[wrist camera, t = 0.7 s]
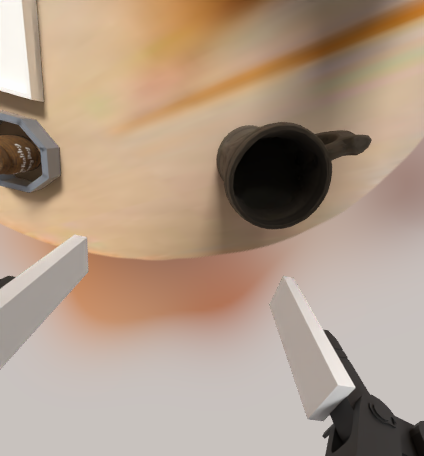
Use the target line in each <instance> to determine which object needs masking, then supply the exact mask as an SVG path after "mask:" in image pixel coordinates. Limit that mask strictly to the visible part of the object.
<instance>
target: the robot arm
mask: <svg viewBox="0 0 424 456" xmlns="http://www.w3.org/2000/svg"><path fill="white" fill-rule="evenodd" d="M87 273H88V249H87V237H84V236H79V235H73V236H72V237H71V238H69V239H68V240H66V241H65V242H64V243H62V244H61V245H60V246H58V247H57V248H55V249H54V250H53V251H51V252H50V253H49V254H47V255H46V256H44V257H43V258H42V259H41V260H39V261H38V262H36V263H35V264H34V265H32V266H31V267H29V268H28V269H27V270H26V271H24V272H23V273H21V274H20V275H19V276H17V277H13V276H7V277H5V278H3V279H0V369H1V368H2V367H3V366H4V365H5V364H6V362H7V361H8V360H9V359H10V358H11V357H12V356H13V355H14V354H15V353H16V352H17V350H18V349H19V348H20V347H21V346H22V345H23V344H24V343H25V341H26V340H27V339H28V338H29V337H30V336H31V335H32V334H33V333H34V332H35V330H36V329H37V328H38V327H39V326H40V325H41V324H42V323H43V322H44V320H45V319H46V318H47V317H48V316H49V315H50V314H51V313H52V312H53V310H54V309H55V308H56V307H57V306H58V305H59V304H60V303H61V302H62V300H63V299H64V298H65V297H66V296H67V295H68V294H69V293H70V292H71V290H72V289H73V288H74V287H75V286H76V285H77V284H78V283H79V282H80V280H81V279H82V278H83V277H84V276H85V275H86V274H87ZM269 305H270V308H271V311H272V314H273V317H274V320H275V323H276V326H277V329H278V332H279V335H280V338H281V341H282V344H283V347H284V350H285V353H286V356H287V359H288V362H289V365H290V368H291V371H292V374H293V377H294V380H295V383H296V386H297V389H298V392H299V395H300V398H301V401H302V404H303V407H304V410H305V413H306V416H307V418H308V419H310V420H318V421H324V420H325V419H326V418H327V417H328V416H329V415H330V416H331V418H332V420H333V425H331V427H329V428H328V429H327V430H326V431H325V432H324V434H323V437H324V438H326V437H327V436H328V435H329V439H328V444H327V450H326V455H325V456H424V421H420V422H419V423H417V424H416V425H415V426H414V425H412V424H410V423H408V422H406V421H404V420H402V419H400V418H398V417H396V416H394V415H393V413H392V412H391V410H390V409H389V408H388V407H387V406H386V405H385V404H384V403H383V402H382V401H381V400H380V399H378V398H376V397H375V396H373V395H370V394H369V392H368V391H367V389H366V387H365V386H364V384H363V382H362V381H361V379H360V377H359V376H358V374H357V372H356V371H355V369H354V368H353V366H352V364H351V363H350V361H349V360H348V359H347V356H346V354H345V353H344V352H343V351H342V350H343V349H342V348H341V346H340V344H339V343H338V341H337V340H336V338H335V337H334V336H333V335H332V334H331V333H330V332H329V331H328V330H323V329H322V327H321V326H320V324H319V322H318V320H317V319H316V317H315V315H314V313H313V312H312V310H311V308H310V306H309V305H308V303H307V301H306V299H305V297H304V296H303V294H302V292H301V290H300V289H299V287H298V285H297V283H296V281H295V280H294V278H291V277H286V276H283V277H282V279H281V282H280V284H279V286H278V288H277V290H276V292H275V294H274V296H273V298H272V300H271V302H270V304H269Z"/></svg>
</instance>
